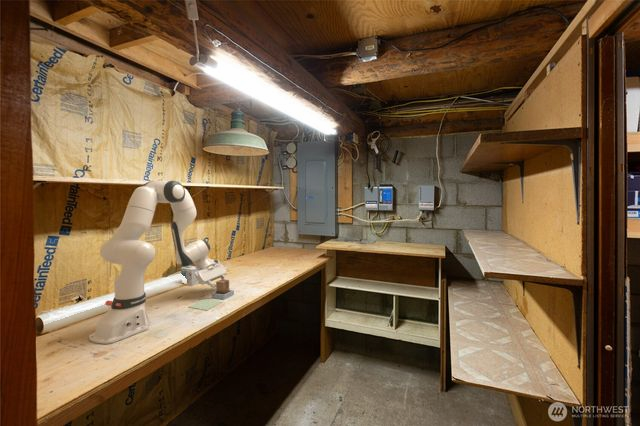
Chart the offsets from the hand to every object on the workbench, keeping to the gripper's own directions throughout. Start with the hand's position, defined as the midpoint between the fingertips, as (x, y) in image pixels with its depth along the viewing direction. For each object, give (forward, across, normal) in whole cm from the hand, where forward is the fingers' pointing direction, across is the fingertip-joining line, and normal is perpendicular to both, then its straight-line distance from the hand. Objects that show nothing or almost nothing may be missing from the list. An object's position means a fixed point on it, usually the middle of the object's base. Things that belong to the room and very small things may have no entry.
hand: (220, 284), depth 173 cm
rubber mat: (+6, -14, +3) cm, 16 cm away
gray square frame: (+6, 0, +3) cm, 7 cm away
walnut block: (+6, 0, +3) cm, 7 cm away
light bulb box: (-19, +12, +28) cm, 36 cm away
